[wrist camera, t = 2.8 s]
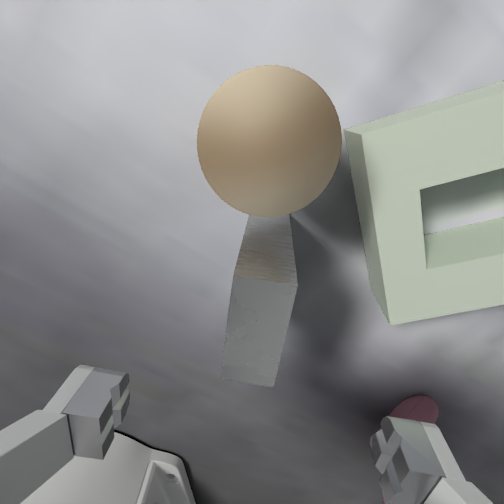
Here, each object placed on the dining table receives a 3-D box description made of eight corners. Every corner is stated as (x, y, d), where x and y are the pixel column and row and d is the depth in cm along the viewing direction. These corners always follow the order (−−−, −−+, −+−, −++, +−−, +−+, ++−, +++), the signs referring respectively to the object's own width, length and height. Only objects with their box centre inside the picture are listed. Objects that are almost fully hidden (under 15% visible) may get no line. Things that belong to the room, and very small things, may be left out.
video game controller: (379, 379, 27) (360, 454, 22) (439, 393, 25) (434, 481, 20) (388, 450, 31) (373, 527, 26) (441, 468, 29) (436, 558, 23)
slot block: (565, 249, 20) (630, 281, 16) (371, 289, 22) (390, 325, 18) (586, 55, 15) (683, 38, 12) (343, 129, 18) (361, 134, 14)
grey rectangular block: (289, 213, 20) (297, 285, 12) (274, 285, 22) (273, 387, 14) (251, 207, 20) (233, 275, 12) (240, 280, 22) (219, 378, 14)
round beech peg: (322, 163, 18) (352, 197, 11) (243, 185, 19) (224, 231, 12) (304, 71, 16) (325, 40, 9) (217, 101, 17) (175, 95, 10)
